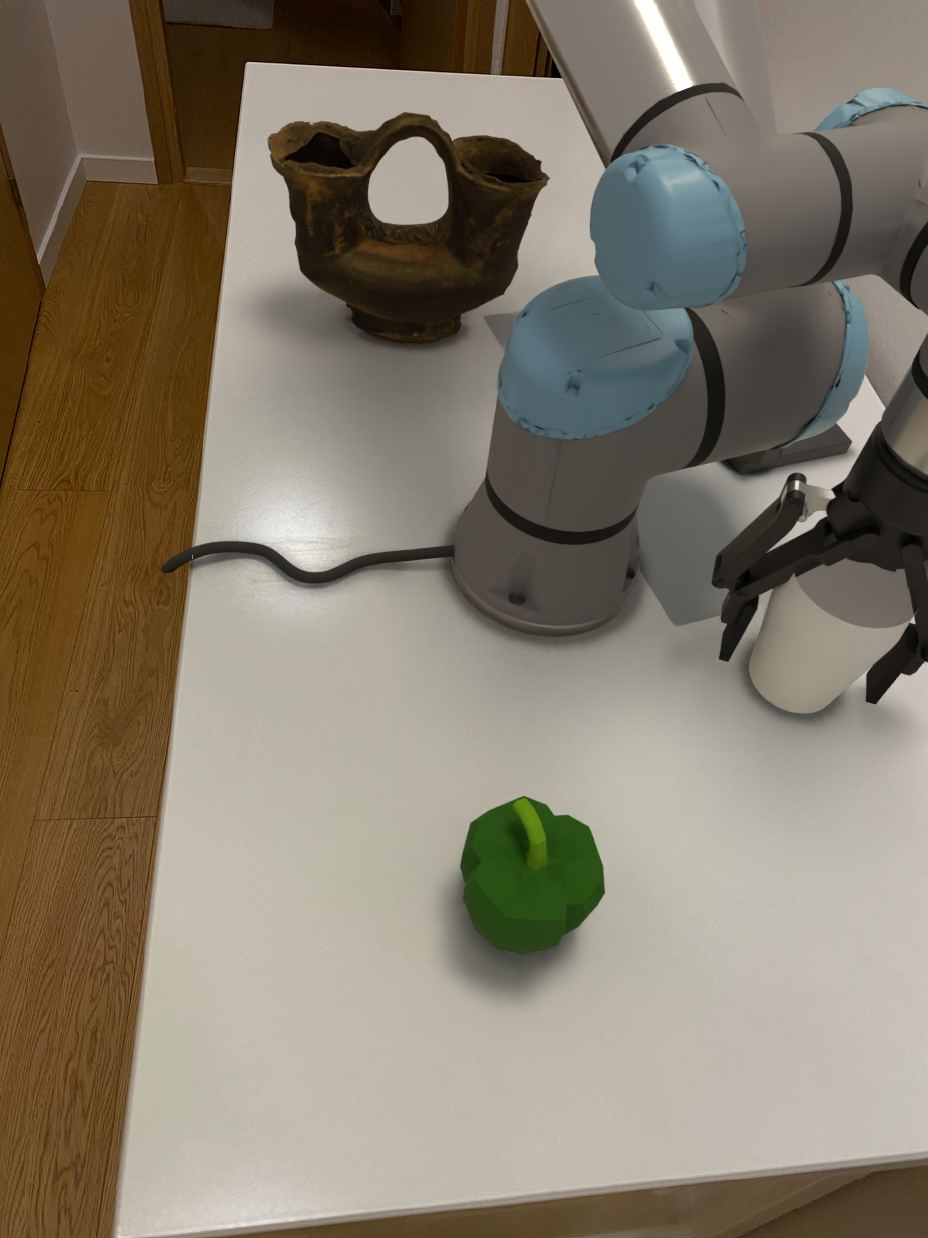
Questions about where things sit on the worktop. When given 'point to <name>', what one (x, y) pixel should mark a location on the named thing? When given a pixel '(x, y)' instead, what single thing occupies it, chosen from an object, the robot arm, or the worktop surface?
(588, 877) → the bell pepper
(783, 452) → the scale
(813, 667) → the cup
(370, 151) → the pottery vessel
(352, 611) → the worktop surface
